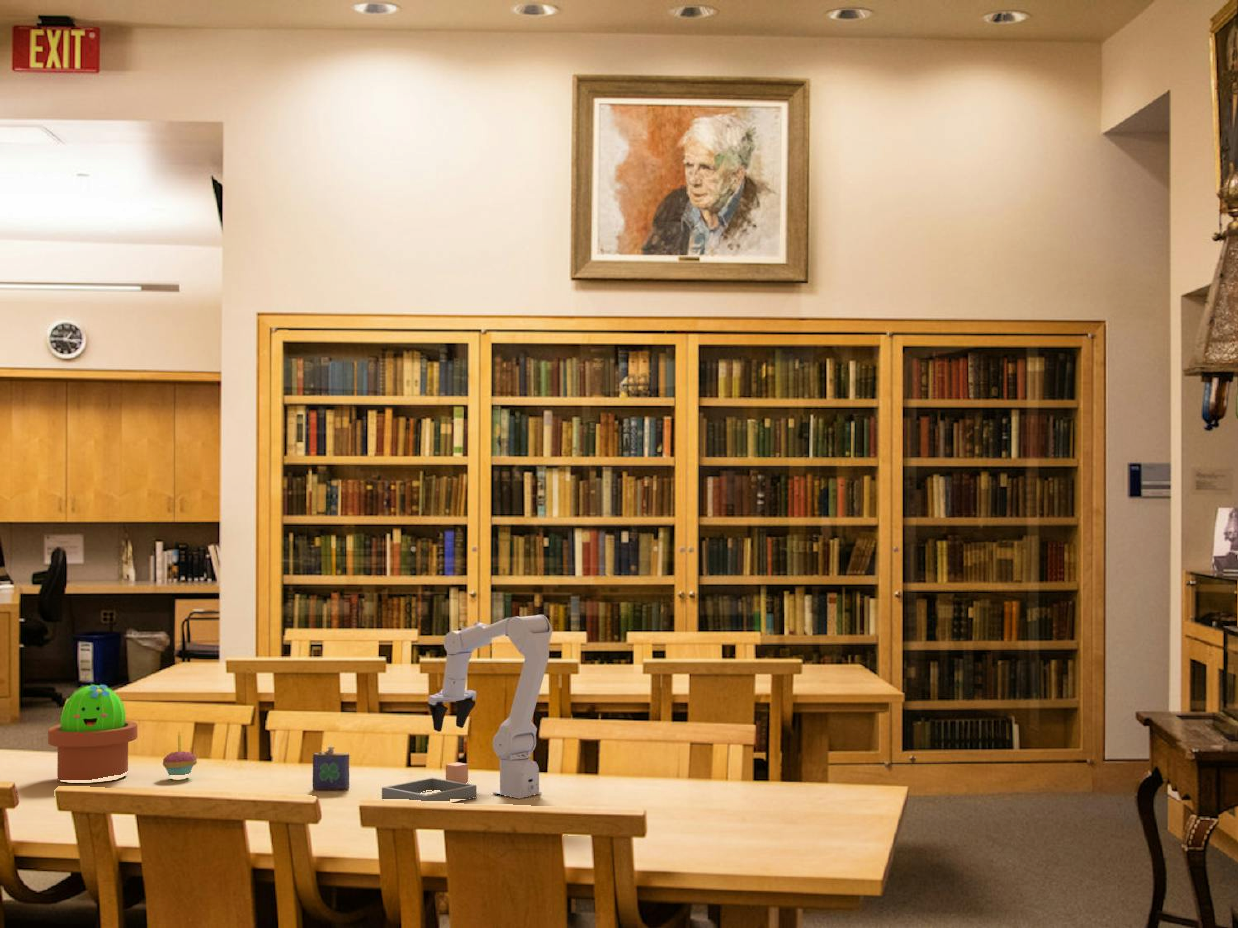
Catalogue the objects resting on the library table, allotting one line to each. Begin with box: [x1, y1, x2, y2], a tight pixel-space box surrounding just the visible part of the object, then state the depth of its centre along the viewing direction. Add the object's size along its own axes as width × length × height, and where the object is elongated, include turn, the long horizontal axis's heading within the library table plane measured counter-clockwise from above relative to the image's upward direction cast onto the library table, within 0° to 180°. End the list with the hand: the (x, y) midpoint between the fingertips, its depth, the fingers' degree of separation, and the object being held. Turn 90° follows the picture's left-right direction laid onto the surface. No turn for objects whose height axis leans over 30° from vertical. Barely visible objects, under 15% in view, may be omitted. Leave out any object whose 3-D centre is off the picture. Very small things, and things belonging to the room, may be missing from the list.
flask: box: [312, 746, 350, 792], centre depth 344 cm, size 9×3×11 cm, turn 88°
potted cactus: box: [47, 684, 138, 781], centre depth 362 cm, size 22×22×25 cm
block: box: [445, 761, 469, 783], centre depth 350 cm, size 4×4×5 cm
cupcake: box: [162, 731, 198, 776], centre depth 360 cm, size 9×8×12 cm
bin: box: [381, 777, 477, 801], centre depth 331 cm, size 16×16×3 cm
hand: (448, 728), depth 352 cm, fingers open, 7 cm apart
